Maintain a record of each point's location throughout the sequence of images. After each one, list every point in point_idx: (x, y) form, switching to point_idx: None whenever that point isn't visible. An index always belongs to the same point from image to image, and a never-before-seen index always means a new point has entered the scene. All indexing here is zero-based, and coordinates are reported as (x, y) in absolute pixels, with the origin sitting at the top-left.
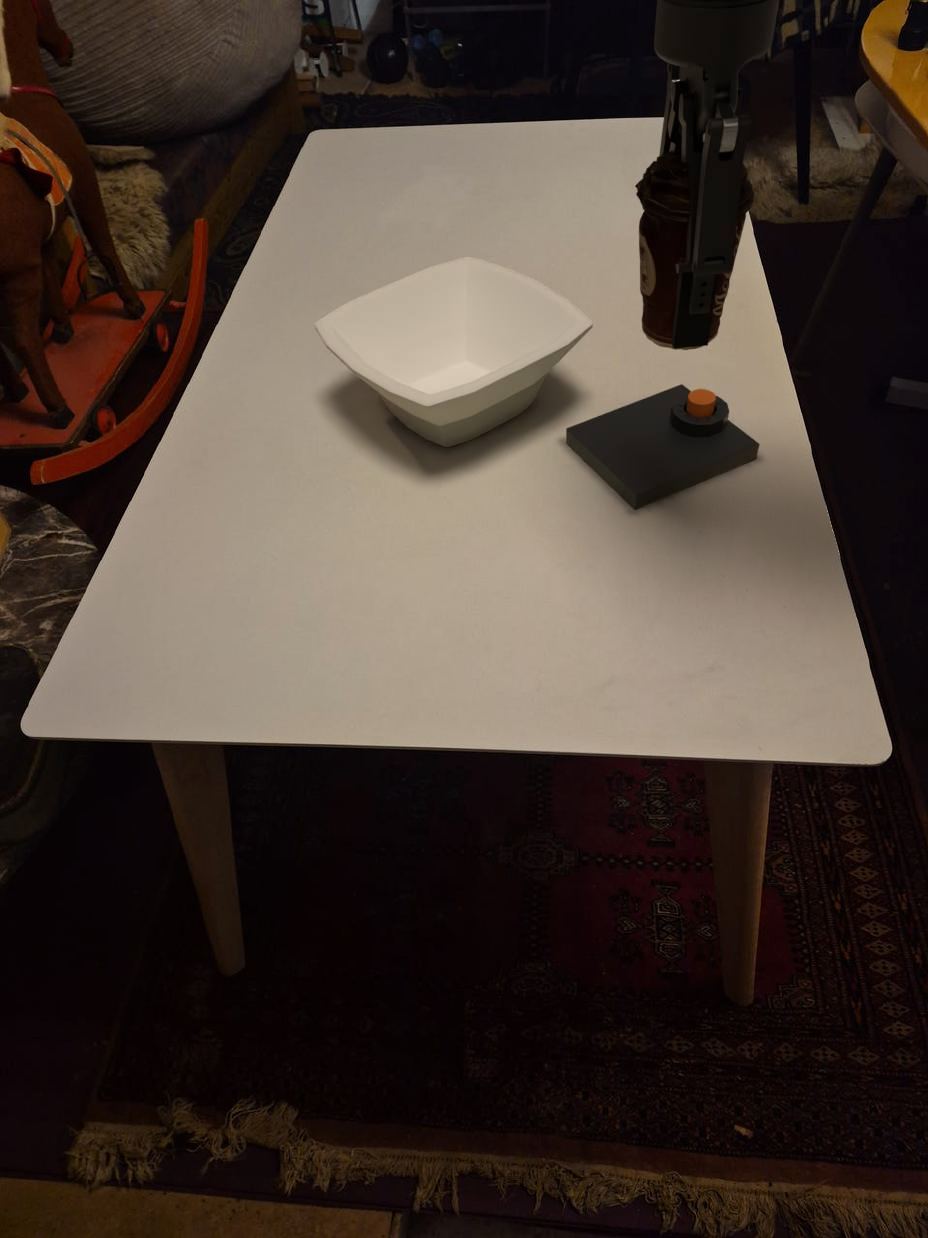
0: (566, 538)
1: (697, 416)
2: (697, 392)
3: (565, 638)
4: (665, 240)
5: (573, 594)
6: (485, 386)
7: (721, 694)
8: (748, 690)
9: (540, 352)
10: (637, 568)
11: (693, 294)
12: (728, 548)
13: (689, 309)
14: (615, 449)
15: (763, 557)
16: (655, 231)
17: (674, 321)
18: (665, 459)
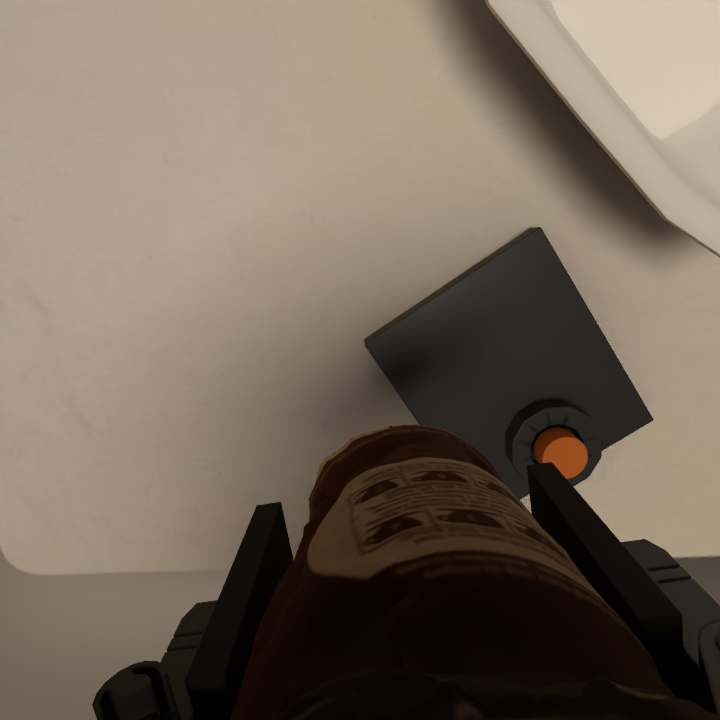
0: (297, 240)
1: (535, 443)
2: (577, 452)
3: (103, 248)
4: (271, 676)
5: (184, 255)
6: (511, 32)
7: (49, 433)
8: (61, 461)
9: (635, 156)
10: (244, 341)
11: (162, 658)
12: (292, 457)
13: (204, 608)
14: (477, 312)
15: (279, 496)
16: (342, 645)
17: (267, 537)
18: (450, 388)
